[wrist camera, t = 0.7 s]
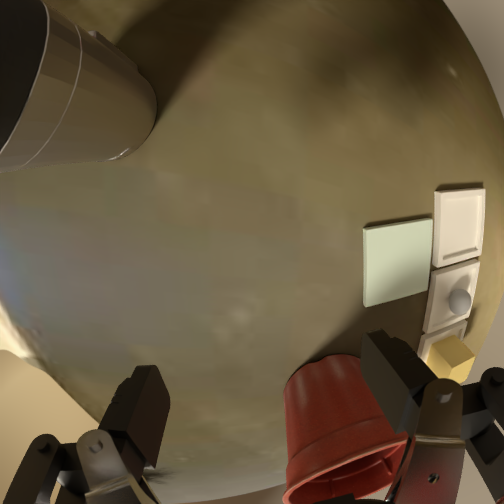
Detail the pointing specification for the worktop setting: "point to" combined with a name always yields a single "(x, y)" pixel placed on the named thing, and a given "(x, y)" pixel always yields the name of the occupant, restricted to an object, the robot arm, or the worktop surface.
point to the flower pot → (336, 434)
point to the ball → (460, 302)
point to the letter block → (450, 359)
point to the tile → (396, 260)
